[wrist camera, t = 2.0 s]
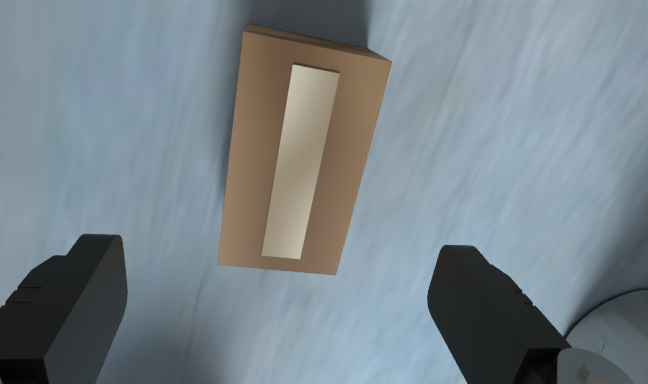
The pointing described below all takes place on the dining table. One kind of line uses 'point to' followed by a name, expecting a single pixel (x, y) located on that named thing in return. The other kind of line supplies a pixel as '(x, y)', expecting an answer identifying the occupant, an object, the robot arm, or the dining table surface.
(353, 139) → the card box
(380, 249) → the dining table surface
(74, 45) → the dining table surface
